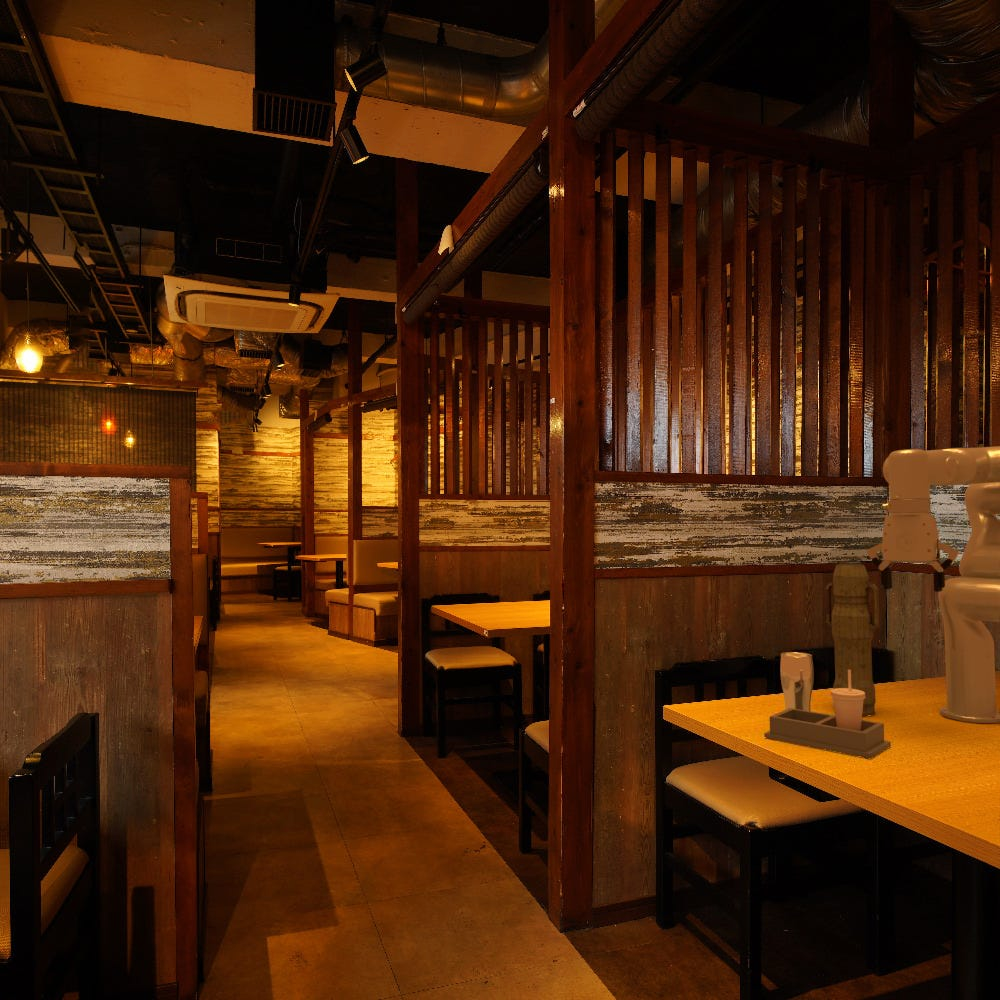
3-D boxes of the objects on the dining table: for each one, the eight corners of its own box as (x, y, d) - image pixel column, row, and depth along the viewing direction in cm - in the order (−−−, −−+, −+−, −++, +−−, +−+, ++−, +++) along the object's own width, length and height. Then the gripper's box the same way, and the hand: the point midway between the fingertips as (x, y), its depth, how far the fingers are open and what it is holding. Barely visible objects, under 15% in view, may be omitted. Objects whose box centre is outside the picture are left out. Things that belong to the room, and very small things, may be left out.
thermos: (831, 705, 183) (827, 561, 185) (885, 711, 176) (880, 562, 178) (823, 712, 176) (818, 563, 177) (878, 719, 169) (873, 564, 170)
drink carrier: (787, 727, 164) (787, 706, 164) (890, 746, 149) (890, 723, 149) (764, 738, 156) (763, 716, 156) (870, 759, 141) (869, 735, 141)
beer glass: (817, 726, 164) (815, 657, 165) (784, 724, 166) (782, 656, 166) (811, 718, 171) (809, 652, 172) (779, 717, 173) (777, 651, 173)
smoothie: (852, 746, 145) (850, 674, 145) (824, 738, 151) (822, 668, 151) (874, 741, 148) (871, 670, 148) (845, 734, 154) (843, 665, 154)
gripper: (860, 509, 161) (862, 589, 160) (951, 507, 149) (954, 593, 148) (872, 509, 166) (875, 587, 166) (961, 507, 154) (964, 591, 153)
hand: (912, 590), depth 157 cm, fingers open, 9 cm apart
